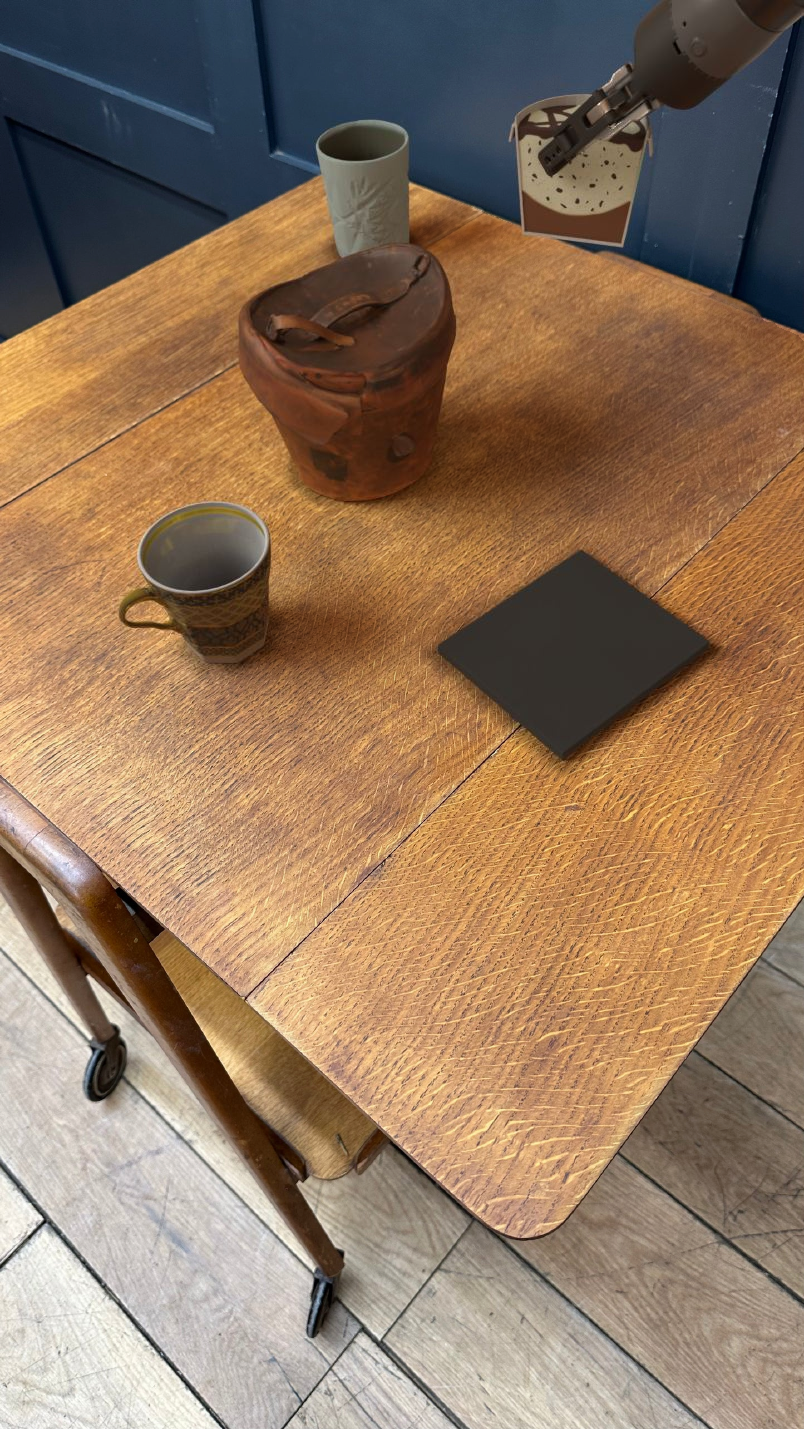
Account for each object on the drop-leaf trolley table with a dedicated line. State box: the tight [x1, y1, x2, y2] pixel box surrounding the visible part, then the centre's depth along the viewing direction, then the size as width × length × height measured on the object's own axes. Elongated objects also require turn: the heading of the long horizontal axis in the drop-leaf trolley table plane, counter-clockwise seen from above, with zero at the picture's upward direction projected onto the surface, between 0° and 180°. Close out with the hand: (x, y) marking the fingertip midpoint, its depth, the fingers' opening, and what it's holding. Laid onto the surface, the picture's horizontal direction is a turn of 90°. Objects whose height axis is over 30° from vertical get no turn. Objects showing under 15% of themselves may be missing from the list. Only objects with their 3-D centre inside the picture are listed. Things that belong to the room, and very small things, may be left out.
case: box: [237, 242, 457, 502], centre depth 90 cm, size 18×20×18 cm
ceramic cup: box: [118, 500, 272, 664], centre depth 80 cm, size 13×10×10 cm
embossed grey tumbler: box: [315, 119, 410, 258], centre depth 116 cm, size 10×10×12 cm
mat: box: [437, 549, 711, 761], centre depth 81 cm, size 16×14×1 cm
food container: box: [508, 93, 654, 248], centre depth 91 cm, size 12×6×10 cm, turn 69°
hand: (573, 148), depth 90 cm, fingers closed on food container, 7 cm apart
